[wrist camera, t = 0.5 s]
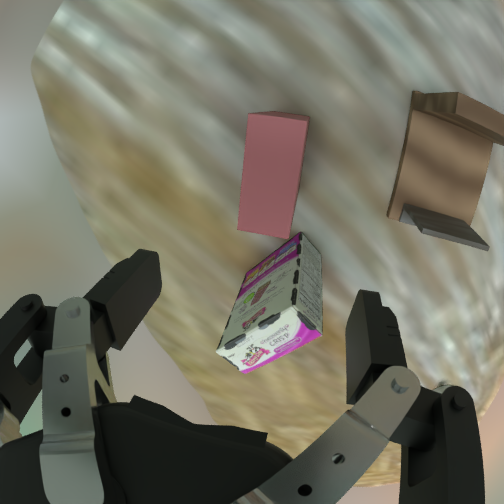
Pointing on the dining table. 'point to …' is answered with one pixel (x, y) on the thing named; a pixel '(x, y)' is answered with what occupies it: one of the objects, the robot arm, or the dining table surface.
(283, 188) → the burgundy book
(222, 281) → the dining table surface
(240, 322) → the candy bar box
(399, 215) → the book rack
